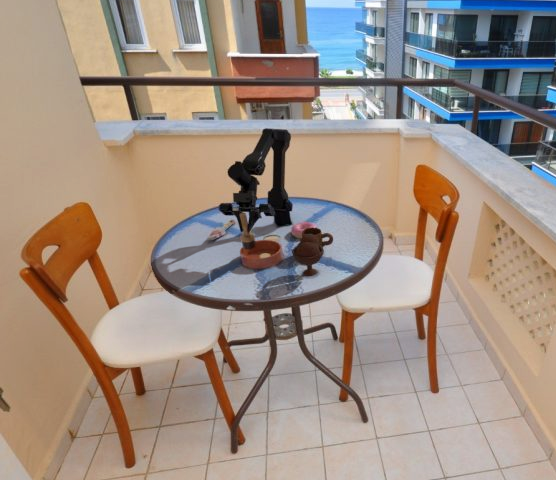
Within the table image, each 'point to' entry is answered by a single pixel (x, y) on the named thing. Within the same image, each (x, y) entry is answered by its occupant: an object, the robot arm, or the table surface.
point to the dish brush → (246, 234)
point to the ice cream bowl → (308, 253)
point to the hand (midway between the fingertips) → (244, 232)
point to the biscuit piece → (264, 255)
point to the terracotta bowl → (262, 246)
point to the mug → (319, 236)
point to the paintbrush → (220, 230)
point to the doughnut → (301, 228)
